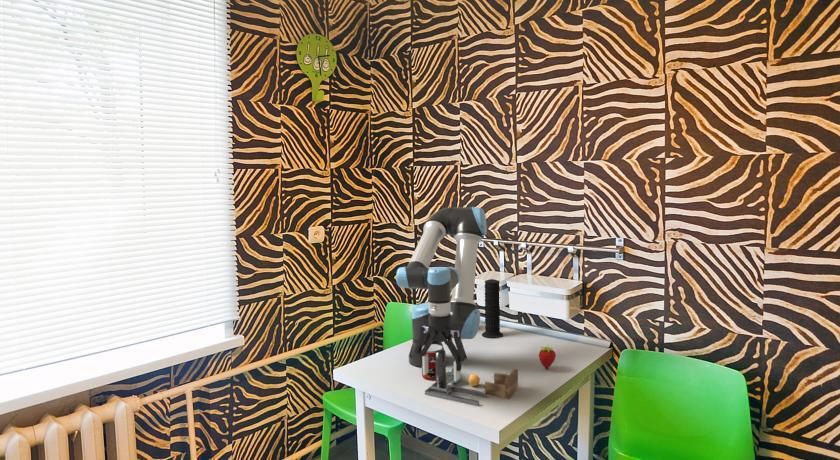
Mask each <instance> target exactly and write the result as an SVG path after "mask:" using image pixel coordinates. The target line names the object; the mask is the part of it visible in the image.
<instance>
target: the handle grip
mask: <svg viewBox="0 0 840 460" xmlns="http://www.w3.org/2000/svg"><path fill="white" fill-rule="evenodd" d="M499 285H500V280H498V279H493V278H491V279H486V280H484V309H485V310H484V322H485V323H484V325H485V326H484V327H485V328H484V332H482V333H481V336H482V337H483V338H485V339H486V338H487V339H500V338H503V337H504V334H503V332H501V331H500V330H501V327H500V326H501V324H500V323H501V320H500V318H501V317H500V315H501V313H500V312H501V310H500V308H501V307H500V305H501V303H500V302H499V299H500V298H501V297H499V292H500V291H501V290H500V288H499ZM499 303H500V304H499Z"/></svg>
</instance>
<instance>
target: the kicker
mask: <svg viewBox="0 0 840 460" xmlns="http://www.w3.org/2000/svg"><path fill="white" fill-rule="evenodd" d="M444 350H445V349H444ZM444 350H437V351H435V357H436V380H435V382H434V383H433V384H431V391H435V392H439V393H444V394H449V395H450V393H451V392H453V391H452V386H453V385H451V384H450V383H452V384H458V383H459V382H460V381H461V380H462V378H461V377H462V372H461V371H462V369H461V370H460V371H459V379H458V380H457V381H454V367H453V368H452V369H451V370H450V371H448V372H447V369H446V362H447V355H446V356H445V353H446V350H445V351H444ZM446 372H447V373H446Z"/></svg>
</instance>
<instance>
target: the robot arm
mask: <svg viewBox="0 0 840 460" xmlns="http://www.w3.org/2000/svg"><path fill="white" fill-rule="evenodd" d="M487 233H488V226H487V219H486V213H485V211H484V209H483V208H482V207H474V206H470V207H467V206H466V207H465V206H464V207H462V206H461V207H458V206H457V207H453V206H450V207H443V208H441V209H439V210H437V211H435V212H434V213H433V214H432V215H431V216H430V217H428V219H427V220H426V221H425V222H424V224H423V233H422V235H421V237H420V239H419V241H418V244H417V245H416V248H415V249H414V252H413V254H412V256H411V258H410V260H409V262H408V264H407V266H403V267H402V266H400V267H399V268H397V270H396V275H395V277H396V278H395V279H396V285H397V286H398V288H401V289H402V288H405V289H417V290H418V289H419V290H420V289H421V290H427V294H428V299H427V300H428V302H424V303H419V304H416V305H414V307H412V310H411V313H412V314H411V325H412V326H411V328H412V330H411V332H412V335H411V336H412V344H411V347H410V350H409V353H408V363H409V364H411V365H412V366H414V367H417V368H422V365H423V375H426V374H427V373H428V354H425V353H427V350H428V349H429V347H430V346H431V344H437V345H440V346H442V348H443V350H444V351H445V356H446V357H447V354H446V350H445V347H444V345H446V347H447V348H448V349H449V351H450V353H451V355H452V356H453V358H454V361H453V368H454V381H457V380H458V379H459V371H460V370H461V371H462V367H463V366H462V362H464V361H466V360H467V358H468V356H467V353H466V350H465V347H464V344H463V341H462V340H473V339H474V338H476V336H477V334H478V331H479V328H480V322H481V310H480V309H479V308H478V307H477V306H478V305H477V304H476V302H475V301H474V295H475V283H476V282H475V281H476V271H477V270H476V269H477V259H478V258H477V257H478V247H479V243H481V242H482V239H483V237H484V236H486V235H487ZM445 236H453V239H454V240H455V241H456V246H455V247H456V249H455V260H454V267H453V266H446V267H445V266H433V267H430V265H431V262H432V261H433V259H434V256H435V254H436V252H437V249H438V247H439V244H440V242H441V240H443V239H444V238H445ZM453 341H454V342H453ZM443 344H444V345H443ZM423 346H424V347H423ZM422 347H423V349H422Z"/></svg>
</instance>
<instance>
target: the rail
mask: <svg viewBox="0 0 840 460" xmlns="http://www.w3.org/2000/svg"><path fill="white" fill-rule="evenodd" d="M431 386H432V385H431ZM431 386H429V387H428V388H427V389H425V390H424V395H425V396H430V397H435V398H439V399H444V400H449V401H453V402H458V403H461V404H462V403H464V404H466V405H471V406H476V407H478V406H479V405H480V400H477V399H472V398H467V397H464V396H463V397H462V396H457V395H453V394H450V393H449V394H444V393H439V392H435V391H431ZM451 392H458V393H462V394H466V395H471V396H475V397H481V398H486V397H487V396H488V395H487V393H486V392H485V391H480V390H474V389H470V388H464V387H460V386H455V385H452V391H451Z"/></svg>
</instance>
